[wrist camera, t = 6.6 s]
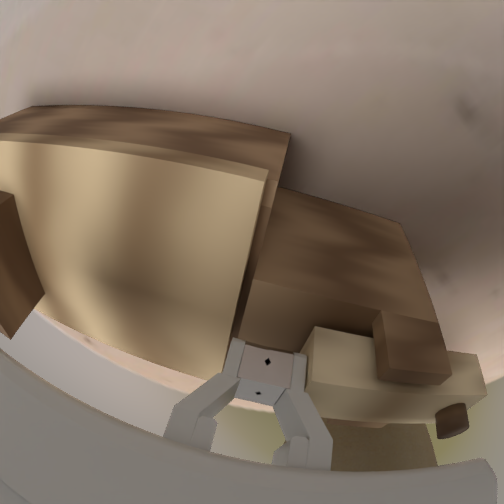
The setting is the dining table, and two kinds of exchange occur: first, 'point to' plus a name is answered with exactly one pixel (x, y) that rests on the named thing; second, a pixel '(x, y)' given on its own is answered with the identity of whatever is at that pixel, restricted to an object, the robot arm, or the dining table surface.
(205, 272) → the lid
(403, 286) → the open wooden box
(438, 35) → the dining table surface
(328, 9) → the dining table surface
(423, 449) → the plant pot
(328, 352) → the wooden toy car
